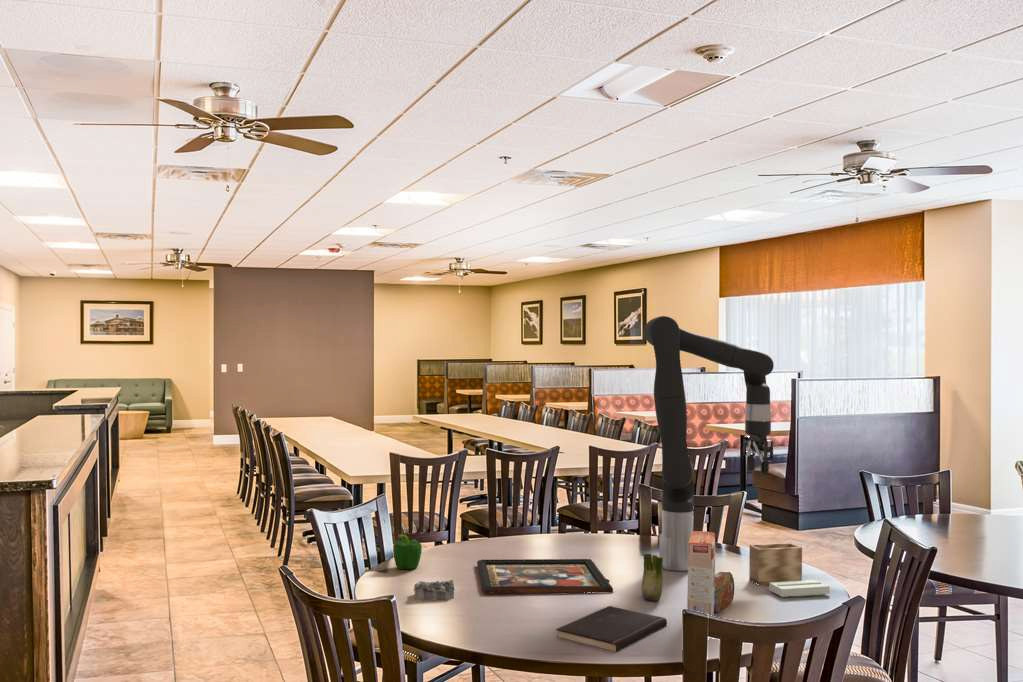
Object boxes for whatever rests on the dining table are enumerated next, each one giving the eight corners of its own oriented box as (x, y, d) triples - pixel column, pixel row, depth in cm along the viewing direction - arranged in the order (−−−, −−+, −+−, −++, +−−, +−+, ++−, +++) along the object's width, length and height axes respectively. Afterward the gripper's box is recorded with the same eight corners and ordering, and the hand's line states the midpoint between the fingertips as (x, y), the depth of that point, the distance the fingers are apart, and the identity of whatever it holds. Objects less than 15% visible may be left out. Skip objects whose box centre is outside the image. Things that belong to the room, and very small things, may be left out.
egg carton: (413, 602, 227) (413, 586, 227) (414, 593, 235) (414, 578, 235) (454, 601, 228) (454, 585, 228) (454, 592, 235) (454, 577, 235)
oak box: (759, 585, 244) (759, 549, 244) (749, 580, 249) (749, 544, 249) (801, 583, 247) (802, 547, 247) (790, 577, 252) (791, 542, 252)
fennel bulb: (665, 602, 227) (665, 555, 227) (648, 603, 226) (648, 557, 226) (654, 596, 233) (655, 550, 233) (638, 597, 231) (638, 552, 231)
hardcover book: (555, 639, 200) (555, 628, 200) (609, 615, 218) (609, 605, 218) (616, 654, 190) (616, 643, 190) (667, 627, 208) (667, 618, 208)
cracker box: (712, 634, 202) (713, 543, 202) (686, 632, 204) (686, 541, 204) (715, 616, 215) (716, 531, 216) (690, 614, 217) (691, 529, 217)
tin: (714, 616, 216) (714, 582, 216) (702, 614, 218) (702, 580, 218) (735, 601, 228) (735, 569, 228) (723, 599, 230) (724, 567, 230)
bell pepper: (424, 565, 264) (424, 531, 264) (418, 572, 256) (418, 537, 256) (396, 564, 265) (396, 530, 265) (390, 571, 257) (390, 536, 257)
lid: (781, 599, 231) (781, 587, 231) (769, 592, 237) (769, 581, 238) (829, 596, 234) (829, 585, 234) (815, 590, 241) (815, 578, 241)
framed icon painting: (486, 601, 229) (486, 589, 229) (465, 568, 263) (465, 559, 263) (625, 595, 236) (625, 584, 237) (587, 564, 271) (587, 555, 271)
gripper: (735, 417, 273) (735, 469, 273) (758, 421, 259) (757, 476, 259) (757, 416, 274) (757, 469, 274) (781, 420, 260) (781, 475, 260)
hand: (757, 472), depth 267 cm, fingers open, 8 cm apart
